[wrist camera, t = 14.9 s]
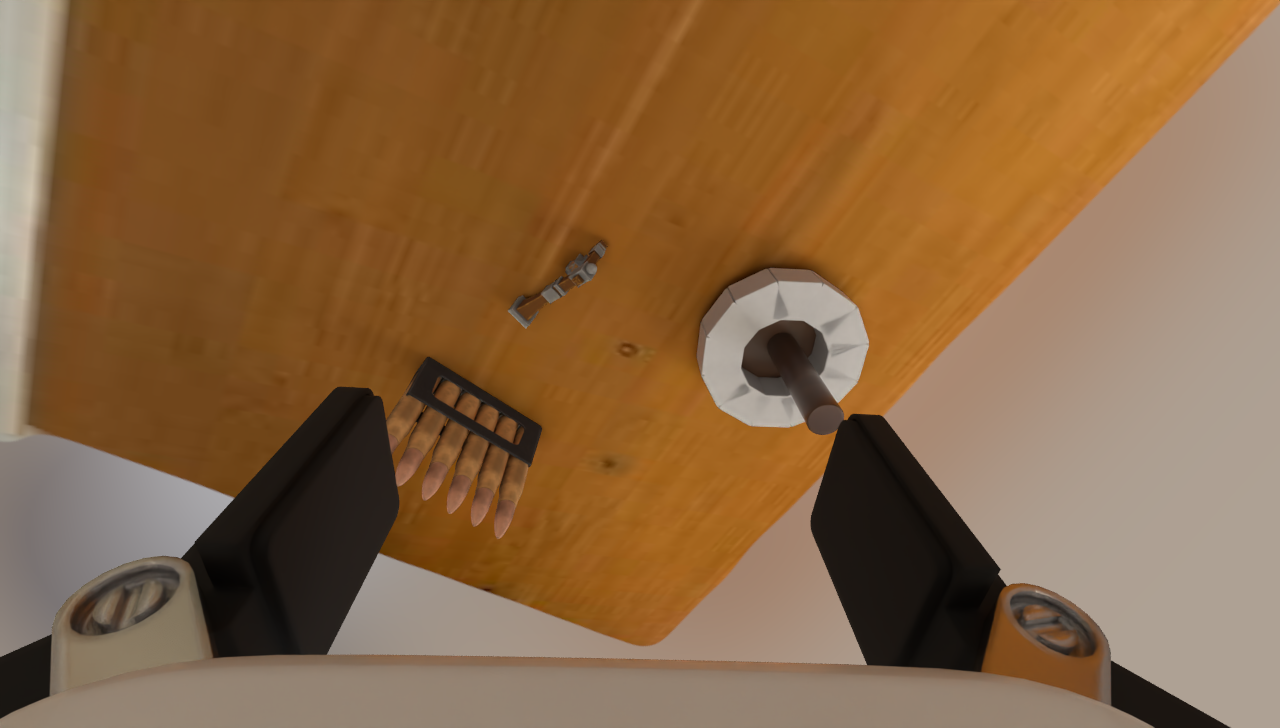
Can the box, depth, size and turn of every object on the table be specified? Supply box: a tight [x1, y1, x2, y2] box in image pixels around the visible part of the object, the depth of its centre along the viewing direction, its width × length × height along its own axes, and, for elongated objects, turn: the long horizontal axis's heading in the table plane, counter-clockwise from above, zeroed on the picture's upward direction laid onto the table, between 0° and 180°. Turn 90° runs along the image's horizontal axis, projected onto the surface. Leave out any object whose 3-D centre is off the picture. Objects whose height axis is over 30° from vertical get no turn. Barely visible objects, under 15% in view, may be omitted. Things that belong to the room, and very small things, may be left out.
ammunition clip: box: [386, 357, 542, 539], centre depth 38 cm, size 11×2×12 cm, turn 50°
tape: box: [697, 268, 869, 427], centre depth 39 cm, size 12×12×3 cm
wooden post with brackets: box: [508, 240, 608, 328], centre depth 37 cm, size 2×8×4 cm, turn 129°
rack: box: [741, 320, 844, 435], centre depth 37 cm, size 8×8×11 cm
